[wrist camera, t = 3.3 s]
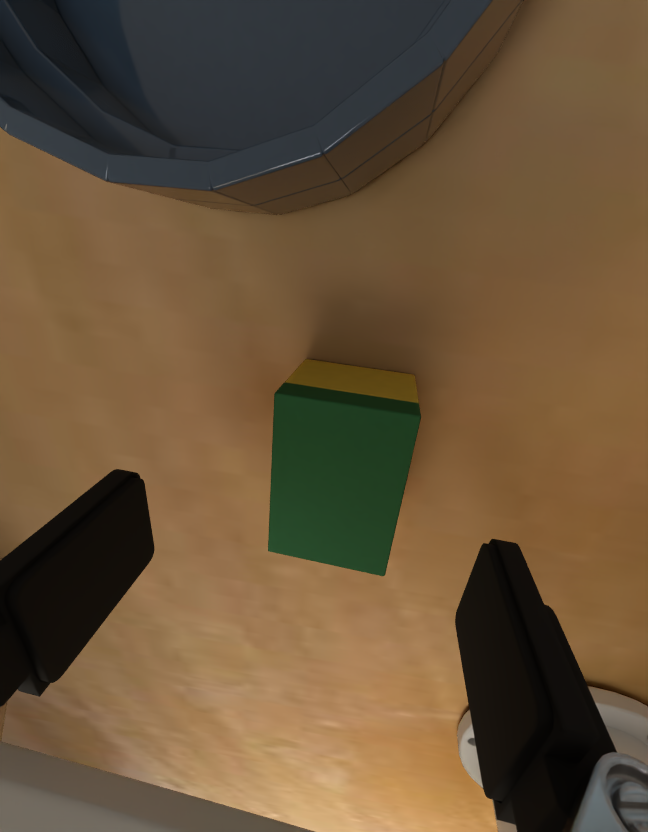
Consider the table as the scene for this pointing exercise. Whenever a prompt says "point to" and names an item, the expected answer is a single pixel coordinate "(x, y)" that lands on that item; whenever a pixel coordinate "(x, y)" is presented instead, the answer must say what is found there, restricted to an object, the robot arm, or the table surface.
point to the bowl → (240, 90)
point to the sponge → (341, 463)
